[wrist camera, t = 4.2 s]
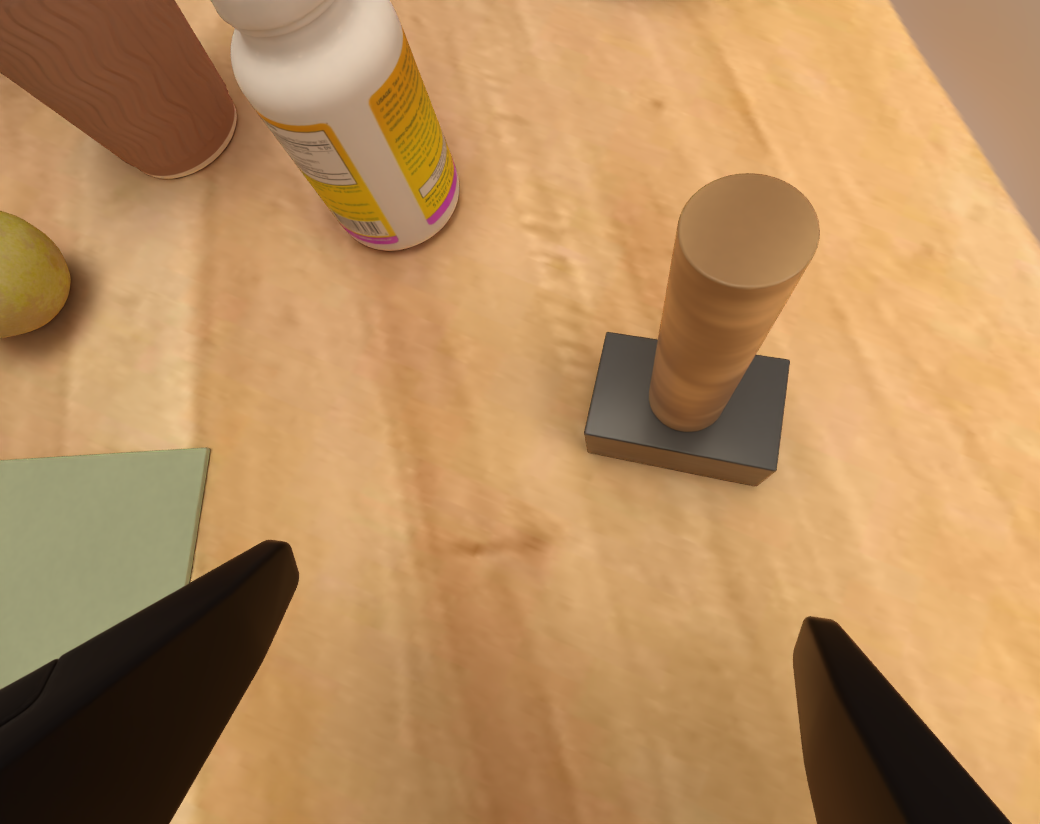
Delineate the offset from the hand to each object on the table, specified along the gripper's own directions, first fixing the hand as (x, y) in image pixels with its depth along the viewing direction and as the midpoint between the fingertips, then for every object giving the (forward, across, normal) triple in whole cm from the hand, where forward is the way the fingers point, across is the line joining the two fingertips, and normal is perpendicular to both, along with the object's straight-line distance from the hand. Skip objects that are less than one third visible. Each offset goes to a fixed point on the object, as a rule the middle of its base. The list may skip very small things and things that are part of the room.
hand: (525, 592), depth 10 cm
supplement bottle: (+23, +11, -2) cm, 26 cm away
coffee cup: (+26, +26, -5) cm, 38 cm away
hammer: (+15, -4, +5) cm, 16 cm away
